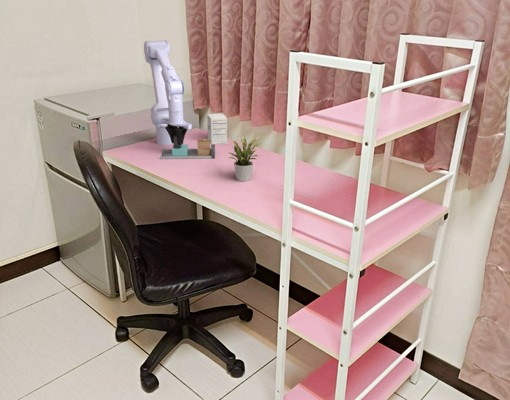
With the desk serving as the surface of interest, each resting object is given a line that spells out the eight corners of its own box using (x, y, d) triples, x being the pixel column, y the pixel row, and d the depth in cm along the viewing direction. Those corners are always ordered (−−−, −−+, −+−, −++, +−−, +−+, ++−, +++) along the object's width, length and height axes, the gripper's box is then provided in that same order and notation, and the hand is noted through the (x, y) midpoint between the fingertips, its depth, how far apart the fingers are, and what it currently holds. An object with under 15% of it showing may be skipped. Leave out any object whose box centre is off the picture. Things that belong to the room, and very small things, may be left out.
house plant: (270, 174, 190) (271, 132, 184) (260, 187, 178) (261, 143, 171) (234, 170, 194) (234, 129, 187) (222, 183, 182) (222, 139, 175)
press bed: (162, 153, 211) (162, 144, 209) (215, 152, 212) (214, 143, 211) (160, 161, 202) (159, 152, 200) (215, 160, 203) (214, 151, 202)
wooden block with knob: (198, 152, 209) (197, 137, 207) (210, 152, 210) (209, 137, 207) (197, 156, 205) (197, 141, 202) (210, 156, 205) (209, 141, 202)
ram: (173, 151, 210) (172, 132, 207) (188, 151, 210) (187, 132, 207) (172, 157, 203) (171, 138, 199) (187, 157, 203) (186, 138, 200)
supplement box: (207, 141, 227) (206, 113, 222) (223, 139, 230) (223, 112, 224) (211, 146, 221) (210, 118, 216) (227, 144, 223) (227, 116, 218)
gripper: (196, 111, 198) (197, 144, 204) (169, 106, 206) (171, 138, 211) (184, 115, 193) (185, 148, 198) (157, 109, 200) (159, 142, 206)
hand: (177, 143), depth 204 cm, fingers closed on ram, 3 cm apart
